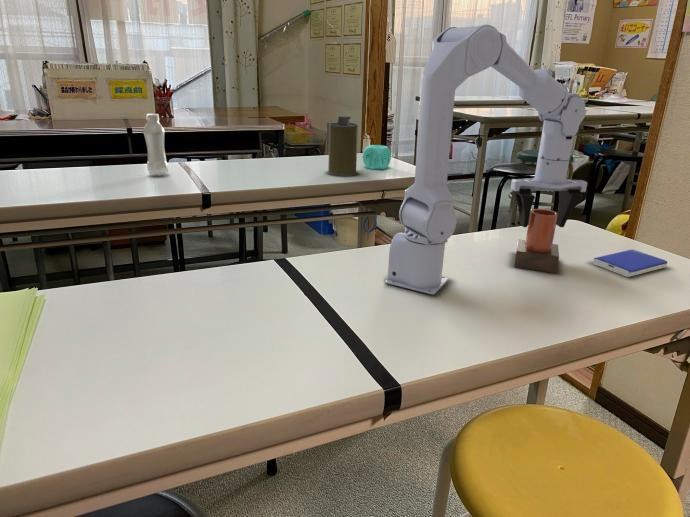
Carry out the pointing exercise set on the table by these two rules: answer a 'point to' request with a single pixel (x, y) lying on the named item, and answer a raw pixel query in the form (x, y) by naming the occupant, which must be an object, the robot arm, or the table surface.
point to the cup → (541, 230)
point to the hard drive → (630, 262)
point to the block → (536, 258)
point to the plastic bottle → (155, 146)
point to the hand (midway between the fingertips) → (541, 225)
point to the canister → (342, 147)
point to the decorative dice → (376, 157)
